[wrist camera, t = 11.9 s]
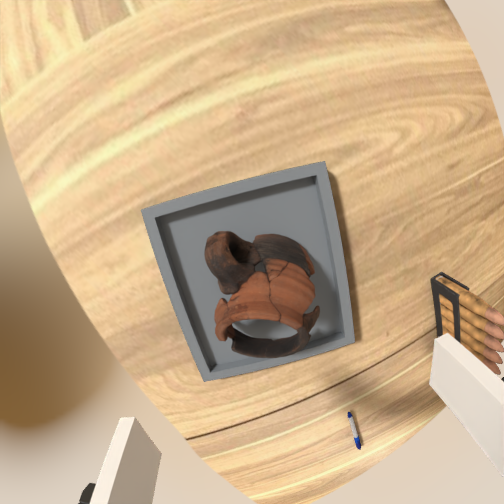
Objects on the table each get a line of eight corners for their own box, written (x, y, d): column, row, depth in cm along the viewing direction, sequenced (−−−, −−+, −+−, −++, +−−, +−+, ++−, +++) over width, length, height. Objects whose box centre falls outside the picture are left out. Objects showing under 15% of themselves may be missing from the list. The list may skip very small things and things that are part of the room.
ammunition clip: (448, 337, 32) (502, 384, 20) (438, 344, 32) (491, 393, 20) (441, 271, 29) (513, 310, 18) (430, 278, 29) (502, 321, 18)
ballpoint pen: (361, 445, 36) (363, 449, 35) (356, 447, 36) (358, 451, 35) (349, 410, 33) (352, 414, 32) (343, 412, 33) (346, 417, 32)
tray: (318, 162, 25) (324, 161, 24) (348, 333, 30) (355, 342, 28) (147, 207, 25) (140, 209, 24) (205, 370, 30) (204, 381, 28)
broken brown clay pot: (334, 270, 28) (342, 345, 22) (258, 304, 32) (251, 372, 27) (254, 180, 22) (241, 257, 16) (176, 236, 27) (147, 309, 21)
